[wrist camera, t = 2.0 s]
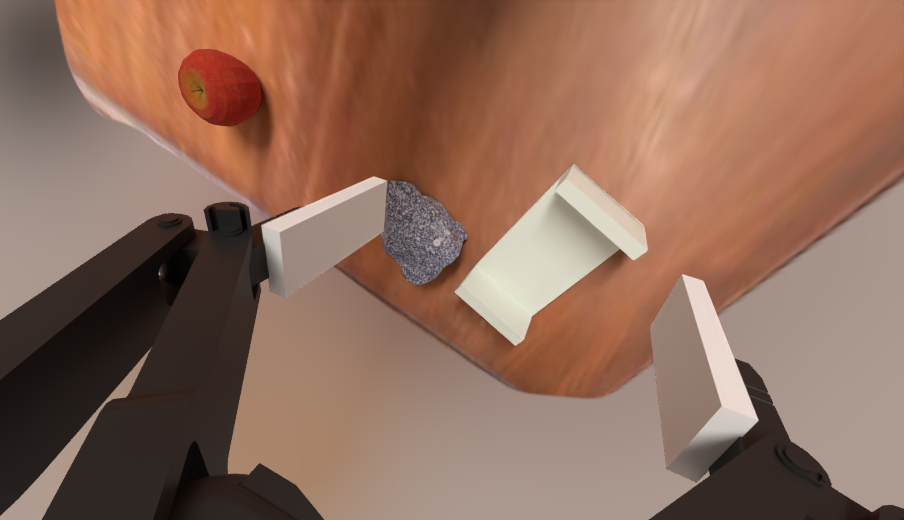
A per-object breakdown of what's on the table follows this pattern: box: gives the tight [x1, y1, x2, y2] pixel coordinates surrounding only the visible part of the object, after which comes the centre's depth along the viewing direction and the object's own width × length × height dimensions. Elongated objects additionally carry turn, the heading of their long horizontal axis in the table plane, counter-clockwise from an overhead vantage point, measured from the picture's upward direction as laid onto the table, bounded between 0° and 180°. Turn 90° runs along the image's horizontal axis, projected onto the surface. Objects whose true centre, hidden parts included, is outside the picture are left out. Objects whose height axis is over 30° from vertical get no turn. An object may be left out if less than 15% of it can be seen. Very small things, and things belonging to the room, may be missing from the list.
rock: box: [380, 180, 467, 285], centre depth 43 cm, size 12×5×10 cm
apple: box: [178, 49, 262, 126], centre depth 41 cm, size 8×8×8 cm
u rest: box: [455, 163, 648, 346], centre depth 37 cm, size 9×17×6 cm, turn 144°
